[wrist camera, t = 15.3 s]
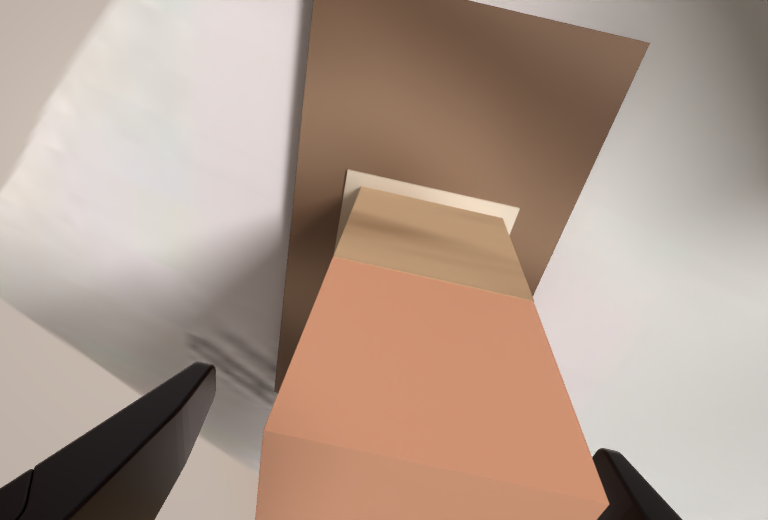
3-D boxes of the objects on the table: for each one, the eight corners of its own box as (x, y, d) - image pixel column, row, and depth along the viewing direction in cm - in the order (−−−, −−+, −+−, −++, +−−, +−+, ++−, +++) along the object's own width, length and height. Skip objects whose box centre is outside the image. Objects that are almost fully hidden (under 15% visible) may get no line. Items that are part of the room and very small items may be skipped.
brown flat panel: (468, 423, 21) (469, 435, 20) (278, 382, 21) (273, 393, 20) (640, 41, 12) (651, 43, 12) (321, -33, 12) (316, -36, 12)
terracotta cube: (471, 433, 13) (493, 643, 8) (309, 398, 13) (247, 593, 8) (533, 301, 10) (609, 503, 6) (333, 257, 10) (263, 430, 6)
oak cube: (460, 328, 17) (471, 432, 13) (339, 302, 17) (309, 397, 13) (502, 218, 15) (534, 300, 10) (361, 186, 15) (333, 256, 10)
